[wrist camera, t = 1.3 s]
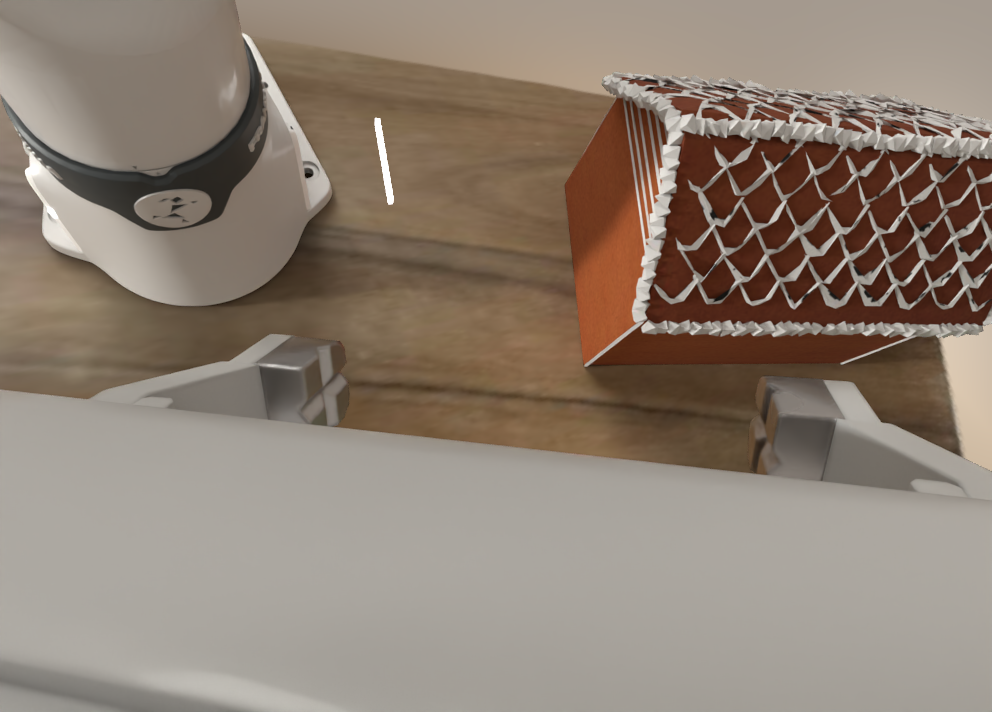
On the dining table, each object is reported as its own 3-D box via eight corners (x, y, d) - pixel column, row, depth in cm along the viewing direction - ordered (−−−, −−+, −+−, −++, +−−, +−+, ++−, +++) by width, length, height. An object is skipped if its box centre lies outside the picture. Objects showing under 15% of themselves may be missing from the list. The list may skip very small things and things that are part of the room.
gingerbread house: (860, 381, 53) (1137, 293, 34) (565, 385, 47) (705, 282, 29) (816, 184, 58) (1037, 13, 39) (544, 166, 52) (651, -43, 34)
